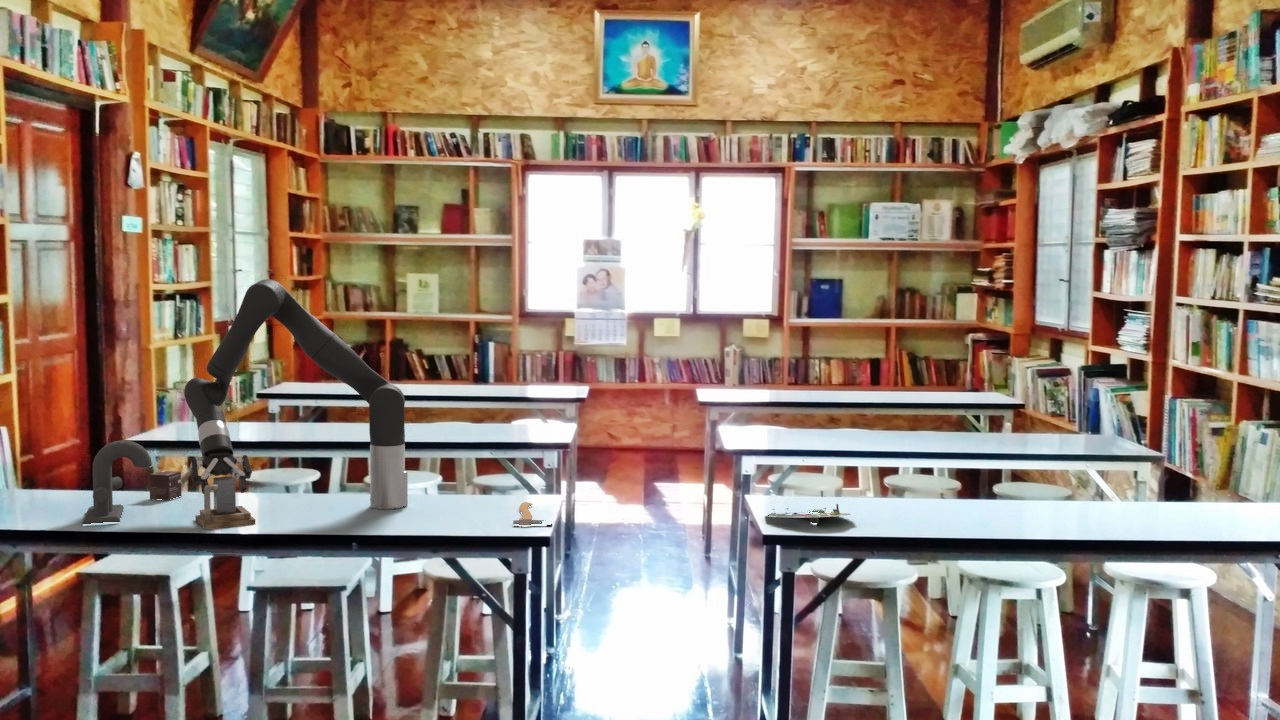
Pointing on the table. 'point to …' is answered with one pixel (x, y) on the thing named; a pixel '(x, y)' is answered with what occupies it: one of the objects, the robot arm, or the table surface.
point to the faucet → (111, 479)
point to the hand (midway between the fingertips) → (225, 492)
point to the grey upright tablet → (224, 496)
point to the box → (165, 485)
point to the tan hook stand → (526, 516)
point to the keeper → (221, 521)
